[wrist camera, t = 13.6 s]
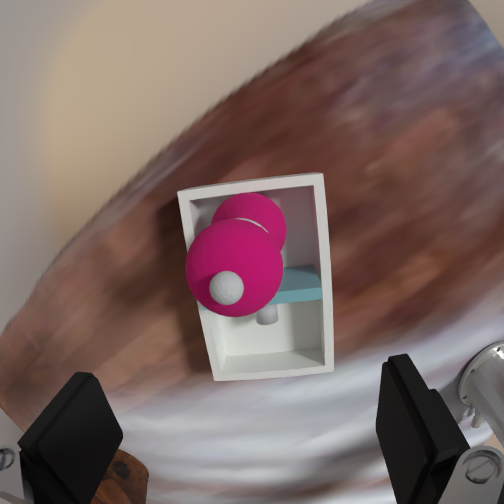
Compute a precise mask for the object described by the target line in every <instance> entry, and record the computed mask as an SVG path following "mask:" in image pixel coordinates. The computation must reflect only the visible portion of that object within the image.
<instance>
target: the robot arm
mask: <svg viewBox="0 0 504 504" xmlns="http://www.w3.org/2000/svg"><path fill="white" fill-rule="evenodd" d="M458 395H459V398H460V399H461V401H462V402H463V403H464V404H465V405H467V406H473V407H474V408H475V411H474V413H475V416H474V417H473V420H472V423H471V426H472V427H473V428H479V427H480V425H481V422H482V420H483V417H484V418H485V420H486V421H487V423H488V424H489V426H490V427H491V429H492V431H493V432H494V434H495V435H496V437H497V438H498V440H499V441H500V443H501V445H502V446H503V448H504V342H498V343H495V344H492V345H490V346H489V347H487V348H485V349H484V350H483V351H481V352H480V353H479V354H478V355H477V356H476V357H475V358H474V359H473V360H472V361H471V363H470V364H469V365H468V367H467V368H466V370H465V371H464V373H463V375H462V377H461V379H460V382H459V386H458ZM376 432H377V436H378V439H379V442H380V446H381V449H382V452H383V456H384V459H385V462H386V466H387V469H388V473H389V476H390V480H391V483H392V487H393V490H394V494H395V498H396V501H397V504H504V455H503V454H502V452H501V451H499V450H497V449H496V448H493V447H491V446H476V447H473V448H470V446H469V444H468V442H467V441H466V439H465V437H464V435H463V433H462V432H461V430H460V428H459V426H458V425H457V423H456V421H455V419H454V418H453V416H452V414H451V413H450V411H449V409H448V407H447V406H446V404H445V402H444V401H443V399H442V397H441V396H440V394H439V393H438V391H437V390H436V389H430V390H429V389H428V387H427V385H426V384H425V382H424V380H423V379H422V377H421V375H420V374H419V372H418V370H417V369H416V367H415V365H414V364H413V362H412V360H411V359H410V357H409V355H408V354H401V355H395V356H390V357H389V358H388V362H384V363H383V364H382V373H381V384H380V393H379V402H378V410H377V417H376ZM122 439H123V432H122V430H121V428H120V426H119V424H118V422H117V420H116V418H115V416H114V413H113V411H112V409H111V407H110V405H109V403H108V401H107V399H106V396H105V394H104V392H103V390H102V387H101V385H100V383H99V381H98V379H97V378H96V377H95V376H94V375H93V374H92V373H87V372H76V373H75V374H74V375H73V376H72V377H71V378H70V379H69V381H68V382H67V383H66V384H65V385H64V387H63V388H62V389H61V390H60V391H59V392H58V394H57V395H56V396H55V397H54V398H53V400H52V401H51V402H50V403H49V404H48V406H47V407H46V408H45V409H44V410H43V412H42V413H41V414H40V415H39V416H38V418H37V419H36V420H35V421H34V423H33V424H32V425H31V426H30V427H29V429H28V430H27V431H26V432H25V434H24V435H23V436H22V437H21V439H20V440H19V441H18V445H19V446H20V448H21V449H22V450H21V451H20V452H19V451H18V450H17V449H16V448H15V447H13V446H11V445H4V446H1V447H0V504H90V503H91V501H92V499H93V497H94V495H95V493H96V491H97V489H98V487H99V485H100V483H101V481H102V479H103V477H104V475H105V473H106V471H107V469H108V467H109V465H110V463H111V461H112V459H113V457H114V455H115V453H116V451H117V449H118V447H119V445H120V443H121V442H122Z"/></svg>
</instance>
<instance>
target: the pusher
mask: <svg viewBox="0 0 504 504" xmlns="http://www.w3.org/2000/svg"><path fill="white" fill-rule="evenodd" d="M319 299H322V289H321V285H320V282H319V279H318V276H317V274H316V271H315V268H314V266H313V265H307V266H297V267H288V268H283V277H282V281H281V284H280V287H279V289H278V291H277V293H276V295H275V296H274V297H273V299H272V300H271V301H270V302H269V303H268V304H267V305H266V306H265V307H263V308H262V309H260V310H258V311H257V312H255V316H256V322H257V323H258V324H260V325H271V324H274V323H276V322H277V321H278V311H277V304H282V303H292V302H301V301H310V300H319ZM203 310H208V309H207V308H205V307H204V306H203Z"/></svg>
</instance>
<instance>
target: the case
mask: <svg viewBox="0 0 504 504" xmlns="http://www.w3.org/2000/svg"><path fill="white" fill-rule="evenodd" d="M148 477H149V473H148V470H147V468H146V467H145V466H144V465H143V464H142V463H141V462H140V461H138V460H137V459H136V458H134V457H133V456H131V455H129V454H128V453H125V452H123V451H121V450H118V449H117V451H116V453H115V455H114V457H113V459H112V461H111V463H110V465H109V467H108V469H107V471H106V473H105V475H104V477H103V479H102V481H101V483H100V485H99V487H98V489H97V491H96V493H95V495H94V497H93V499H92V501H91V503H90V504H146V494H147V482H148Z"/></svg>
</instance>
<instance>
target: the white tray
mask: <svg viewBox="0 0 504 504" xmlns="http://www.w3.org/2000/svg"><path fill="white" fill-rule="evenodd" d="M246 192H251V193H257V194H261V195H263V196H266V197H268V198H269V199H271V200H272V201H273V202H274V203H275V204H276V205H277V206H278V207H279V208H280V210H281V211H282V213H283V215H284V218H285V222H286V229H287V231H286V239H285V243H284V245H283V248H282V250H281V251H280V252H281V255H282V260H283V268H288V267H297V266H307V265H313V266H314V268H315V271H316V274H317V276H318V279H319V282H320V285H321V289H322V299H319V300H310V301H301V302H292V303H282V304H277V311H278V321H277V322H276V323H274V324H271V325H260V324H258V323H257V322H256V316H255V313H253V314H250V315H247V316H242V317H226V316H222V315H218V314H216V313H214V312H212V311H210V310H203V305H202V304H201V303H200V302H199V301H198V300H197V304H198V309H199V314H200V319H201V323H202V328H203V333H204V337H205V342H206V346H207V351H208V355H209V359H210V364H211V368H212V372H213V376H214V380H215V381H227V380H248V379H264V378H277V377H289V376H299V375H309V374H317V373H326V372H334V340H333V305H332V282H331V264H330V248H329V234H328V222H327V210H326V199H325V189H324V179H323V174H322V173H317V172H313V173H303V174H293V175H284V176H275V177H266V178H258V179H250V180H242V181H234V182H227V183H220V184H213V185H206V186H199V187H193V188H188V189H185V190H182V191H178V192H177V193H178V199H179V205H180V212H181V218H182V224H183V230H184V235H185V241H186V247H187V252H188V250H189V248H190V245H191V244H192V242H193V240H194V239H195V238H196V236H197V235H198V234H199V233H200V232H201V231H202V230H203V229H205V228H206V227H208V226H210V225H211V221H212V218H213V216H214V214H215V212H216V210H217V208H218V207H219V206H220V205H221V204H222V203H223V202H224V201H225V200H226V199H228V198H229V197H231V196H233V195H236V194H239V193H246Z"/></svg>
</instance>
